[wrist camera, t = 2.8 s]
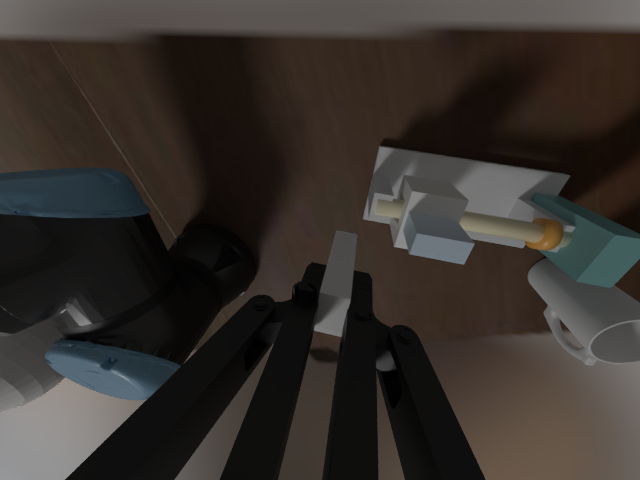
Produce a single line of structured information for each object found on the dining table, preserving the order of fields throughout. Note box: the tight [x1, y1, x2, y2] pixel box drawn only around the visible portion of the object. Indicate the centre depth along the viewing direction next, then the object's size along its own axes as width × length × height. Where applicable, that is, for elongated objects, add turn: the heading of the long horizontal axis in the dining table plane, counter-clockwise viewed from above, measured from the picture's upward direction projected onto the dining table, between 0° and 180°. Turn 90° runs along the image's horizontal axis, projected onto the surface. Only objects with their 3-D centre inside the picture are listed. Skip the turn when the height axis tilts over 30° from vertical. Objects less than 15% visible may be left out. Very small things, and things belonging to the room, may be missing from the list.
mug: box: [528, 258, 640, 366], centre depth 30 cm, size 10×7×12 cm, turn 177°
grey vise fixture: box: [363, 145, 640, 288], centre depth 27 cm, size 22×10×12 cm, turn 83°
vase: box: [0, 320, 65, 412], centre depth 47 cm, size 18×18×25 cm
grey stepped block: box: [390, 175, 474, 264], centre depth 24 cm, size 5×6×10 cm
